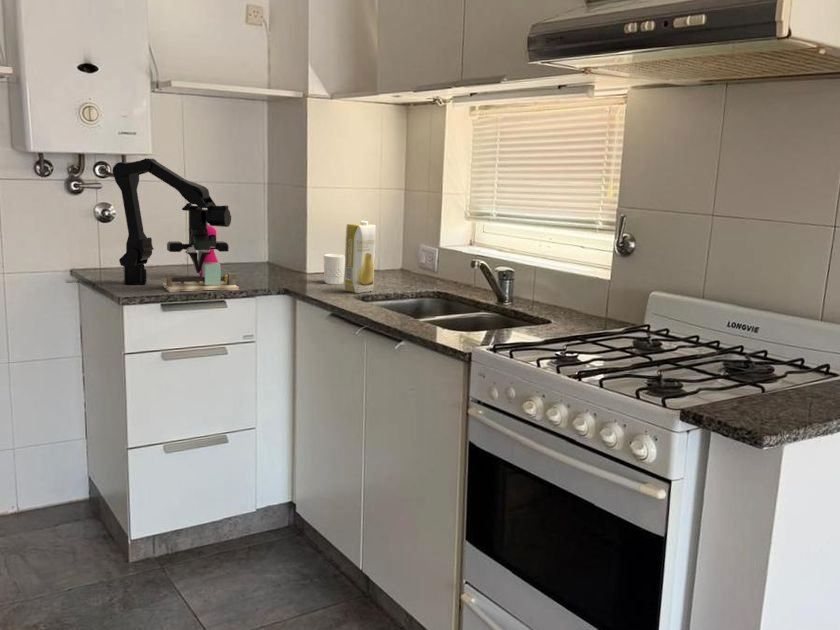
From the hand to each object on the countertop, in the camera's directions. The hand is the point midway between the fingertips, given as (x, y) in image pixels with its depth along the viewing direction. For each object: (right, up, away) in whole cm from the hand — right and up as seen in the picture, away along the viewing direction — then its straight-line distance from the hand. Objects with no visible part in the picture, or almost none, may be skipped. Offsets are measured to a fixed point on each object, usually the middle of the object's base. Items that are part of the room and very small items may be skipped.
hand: (198, 272), depth 259 cm
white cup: (+42, -2, +26) cm, 49 cm away
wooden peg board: (0, -5, +1) cm, 5 cm away
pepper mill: (-2, -1, +22) cm, 22 cm away
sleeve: (+4, -3, +3) cm, 6 cm away
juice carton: (+52, -6, +11) cm, 53 cm away
